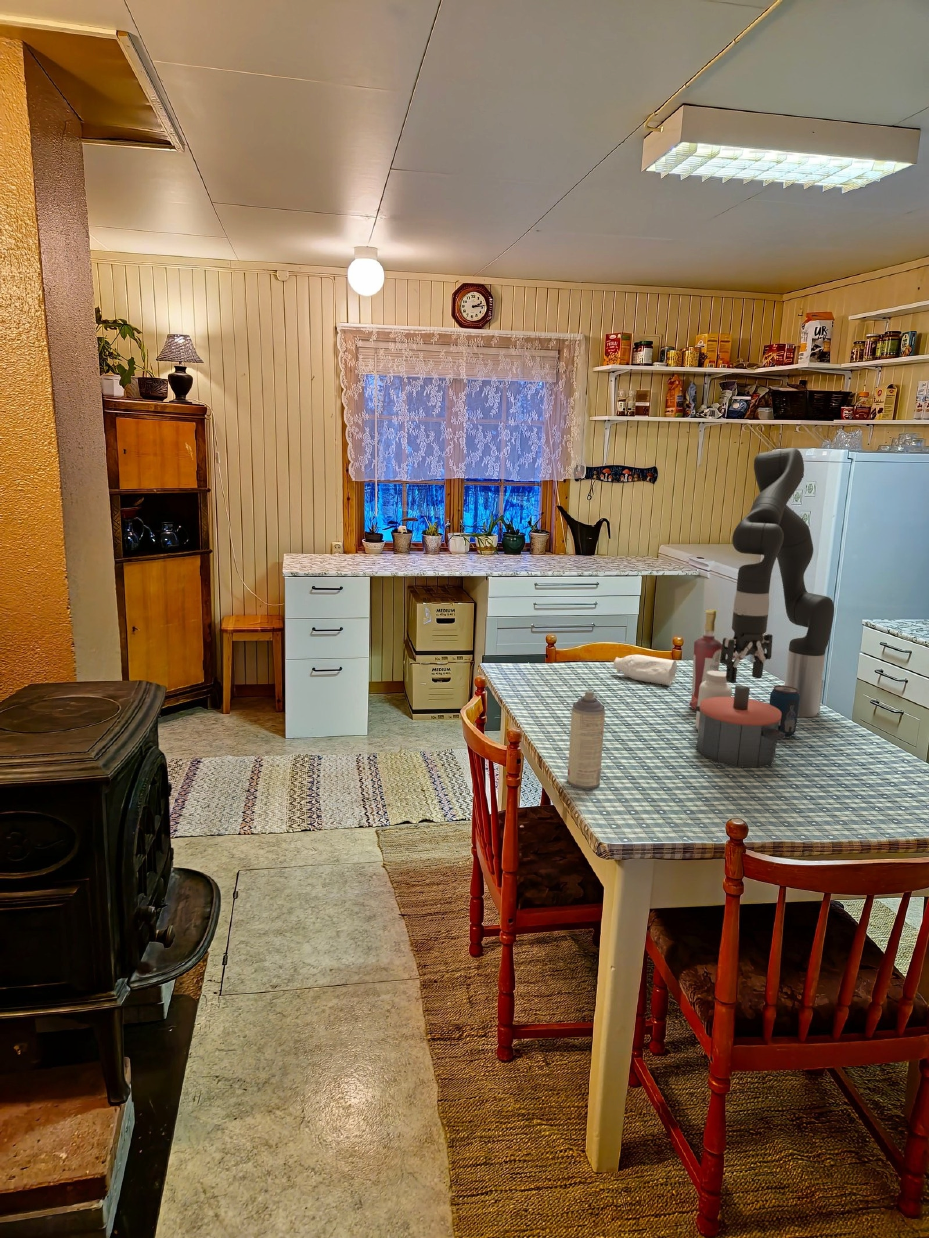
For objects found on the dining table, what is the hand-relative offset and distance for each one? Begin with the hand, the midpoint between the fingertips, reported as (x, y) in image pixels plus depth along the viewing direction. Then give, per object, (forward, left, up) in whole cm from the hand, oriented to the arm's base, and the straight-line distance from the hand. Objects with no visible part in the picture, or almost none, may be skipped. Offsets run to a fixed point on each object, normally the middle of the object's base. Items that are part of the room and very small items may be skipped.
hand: (743, 679), depth 186 cm
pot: (0, 0, -18) cm, 18 cm away
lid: (0, 0, -9) cm, 9 cm away
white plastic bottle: (-23, -57, -18) cm, 64 cm away
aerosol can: (+44, -2, -18) cm, 47 cm away
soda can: (-22, -5, -18) cm, 29 cm away
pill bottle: (-8, -15, -18) cm, 25 cm away
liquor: (-18, -28, -18) cm, 38 cm away
